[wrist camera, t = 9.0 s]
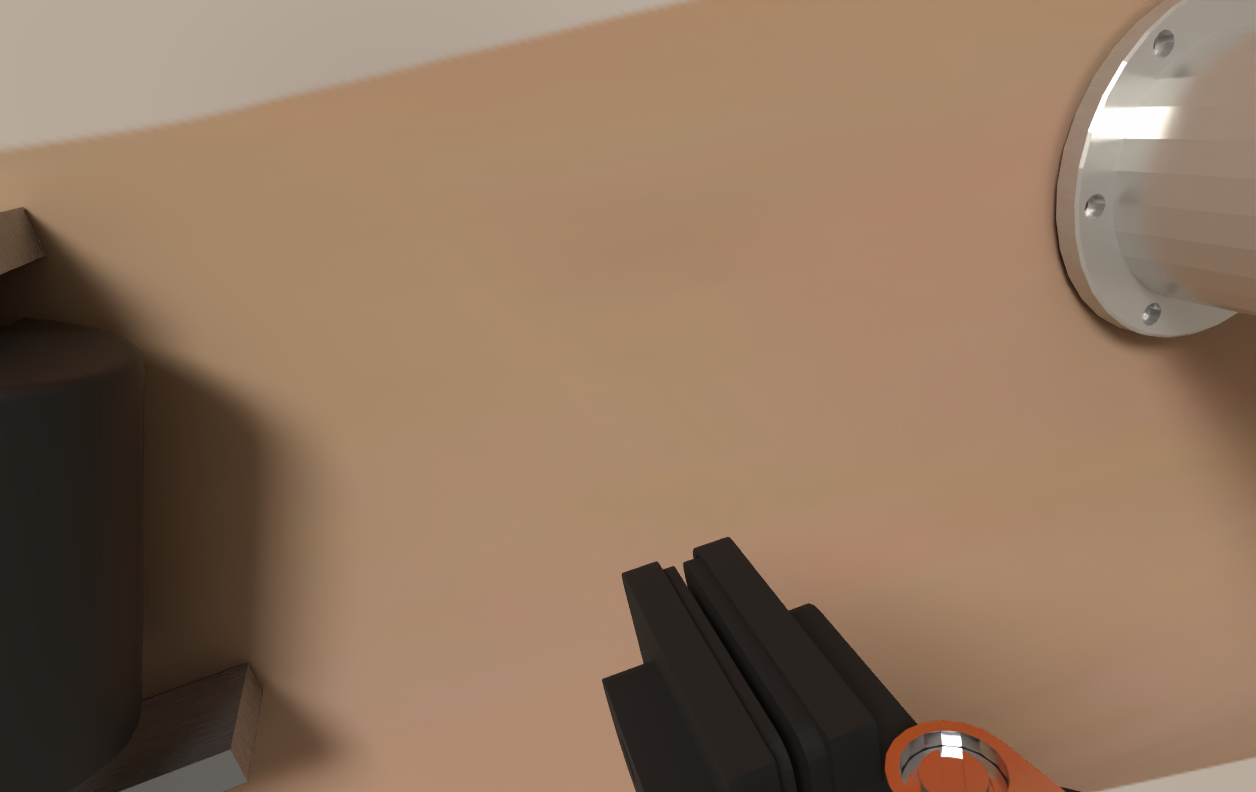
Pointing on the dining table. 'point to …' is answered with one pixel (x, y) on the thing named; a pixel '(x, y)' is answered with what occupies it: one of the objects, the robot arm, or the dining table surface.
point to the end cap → (69, 552)
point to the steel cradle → (181, 718)
